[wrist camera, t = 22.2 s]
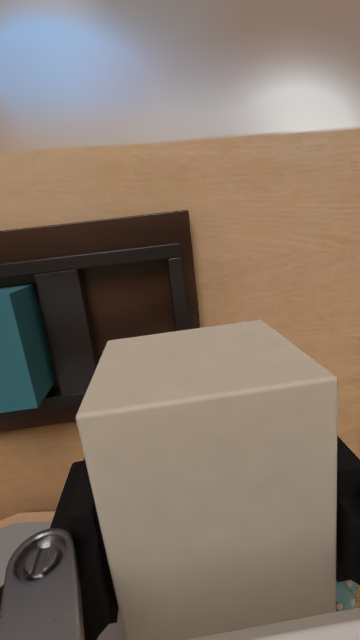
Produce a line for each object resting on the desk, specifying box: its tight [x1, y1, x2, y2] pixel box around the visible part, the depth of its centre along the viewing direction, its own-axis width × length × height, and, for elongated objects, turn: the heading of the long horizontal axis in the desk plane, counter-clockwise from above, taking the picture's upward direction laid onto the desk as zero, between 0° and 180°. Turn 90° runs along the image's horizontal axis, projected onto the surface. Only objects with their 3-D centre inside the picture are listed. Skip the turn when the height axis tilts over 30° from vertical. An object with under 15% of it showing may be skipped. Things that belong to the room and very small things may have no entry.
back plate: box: [0, 210, 200, 432], centre depth 25 cm, size 16×20×3 cm
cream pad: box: [76, 320, 338, 640], centre depth 9 cm, size 8×5×4 cm, turn 7°
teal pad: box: [0, 284, 56, 413], centre depth 23 cm, size 8×5×4 cm, turn 6°
